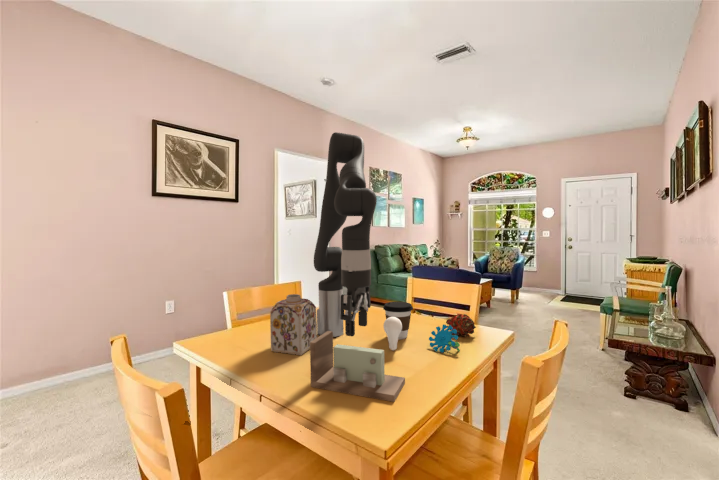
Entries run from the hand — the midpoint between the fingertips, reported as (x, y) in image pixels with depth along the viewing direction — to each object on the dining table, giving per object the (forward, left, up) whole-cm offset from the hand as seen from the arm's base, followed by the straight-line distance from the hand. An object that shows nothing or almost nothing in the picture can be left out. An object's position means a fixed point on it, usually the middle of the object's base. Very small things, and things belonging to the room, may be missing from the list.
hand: (356, 330), depth 87 cm
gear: (+17, +33, -14) cm, 40 cm away
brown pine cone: (+21, +51, -14) cm, 57 cm away
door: (0, 0, -13) cm, 13 cm away
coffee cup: (0, +41, -14) cm, 43 cm away
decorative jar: (-30, +18, -14) cm, 38 cm away
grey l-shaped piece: (0, 0, -14) cm, 14 cm away
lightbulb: (+2, +27, -14) cm, 31 cm away
